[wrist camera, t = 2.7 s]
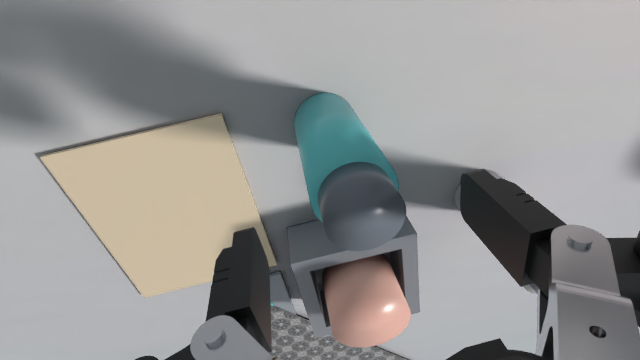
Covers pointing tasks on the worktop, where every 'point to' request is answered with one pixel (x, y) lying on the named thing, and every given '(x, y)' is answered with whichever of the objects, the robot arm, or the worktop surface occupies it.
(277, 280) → the card
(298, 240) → the button housing
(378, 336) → the button
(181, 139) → the sketch pad
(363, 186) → the marker teal
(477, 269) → the worktop surface
